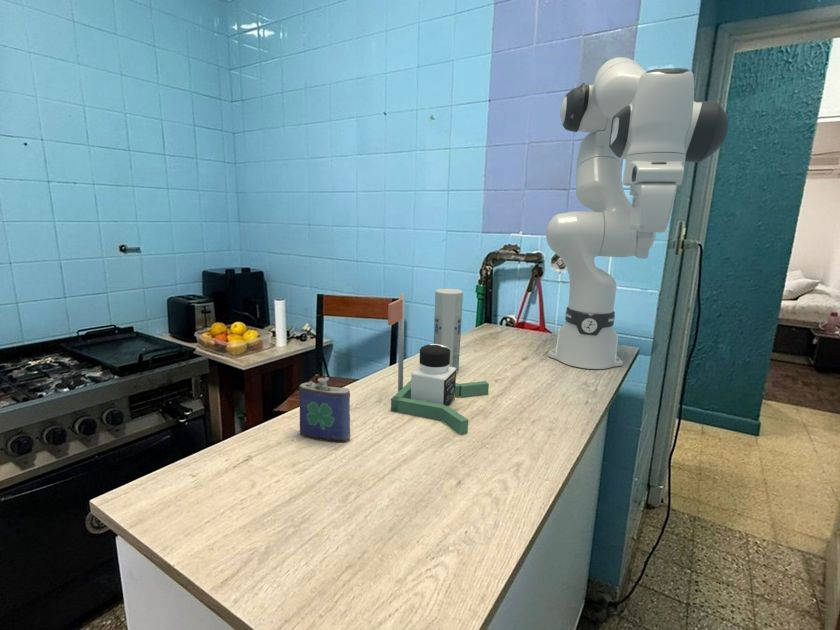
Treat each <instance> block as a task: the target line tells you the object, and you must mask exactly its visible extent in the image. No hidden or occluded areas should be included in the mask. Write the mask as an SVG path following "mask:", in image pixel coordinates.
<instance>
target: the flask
mask: <svg viewBox="0 0 840 630" xmlns="http://www.w3.org/2000/svg"><path fill="white" fill-rule="evenodd" d="M328 381H330V378H329V377H327V376H325V377H319V378H318V379H317V382H318V383H315V382H313V381H309V382H303V383H301V384H299V386H298V387H299V388H298V393H299V394H298V395H299V432H300V434H299V435H300V436H302V437H305V438H308V439H311V440H316V441H317V440H318V441H324V442H330V443H331V442H333V443H346V442H348V441H350V438H351V413H350V411H351V409H350V406H351V405H350V404H351V403H350V402H351V401H350V398H351V392H350V391H351V390H350V389H349V388H346V387H336V386H328Z"/></svg>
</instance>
